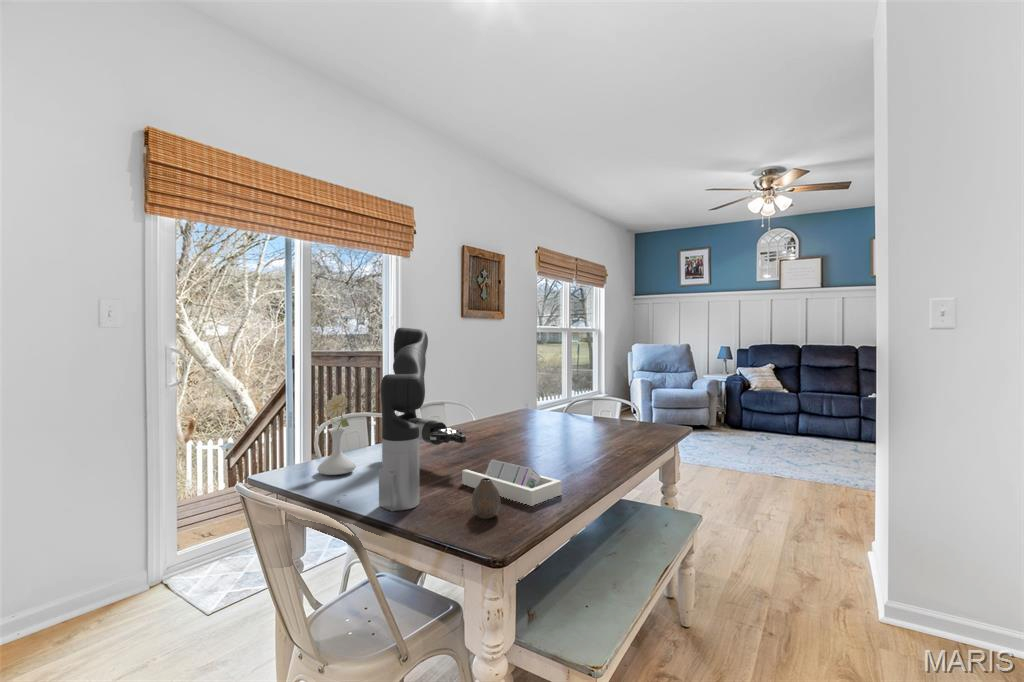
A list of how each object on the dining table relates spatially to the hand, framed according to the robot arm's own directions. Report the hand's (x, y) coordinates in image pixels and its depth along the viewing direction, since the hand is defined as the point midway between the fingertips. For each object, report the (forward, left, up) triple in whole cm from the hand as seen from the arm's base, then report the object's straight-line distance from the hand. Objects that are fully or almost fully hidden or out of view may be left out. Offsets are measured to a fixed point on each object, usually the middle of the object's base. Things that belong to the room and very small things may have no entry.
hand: (464, 439), depth 151 cm
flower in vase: (-26, +30, -11) cm, 41 cm away
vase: (-18, -29, -11) cm, 36 cm away
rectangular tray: (0, -20, -11) cm, 23 cm away
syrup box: (-1, -13, -7) cm, 15 cm away
